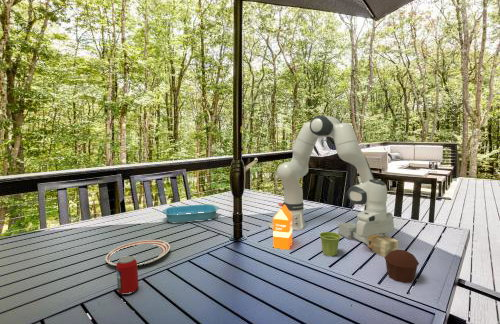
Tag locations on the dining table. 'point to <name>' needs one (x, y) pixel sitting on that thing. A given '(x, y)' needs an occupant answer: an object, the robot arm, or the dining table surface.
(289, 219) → the orange juice
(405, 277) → the muffin
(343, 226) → the outer sleeve
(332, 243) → the plant pot
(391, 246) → the socket block
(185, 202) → the dining table surface
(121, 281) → the beverage can
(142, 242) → the beige round ring
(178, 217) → the casserole dish
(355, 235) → the tube
